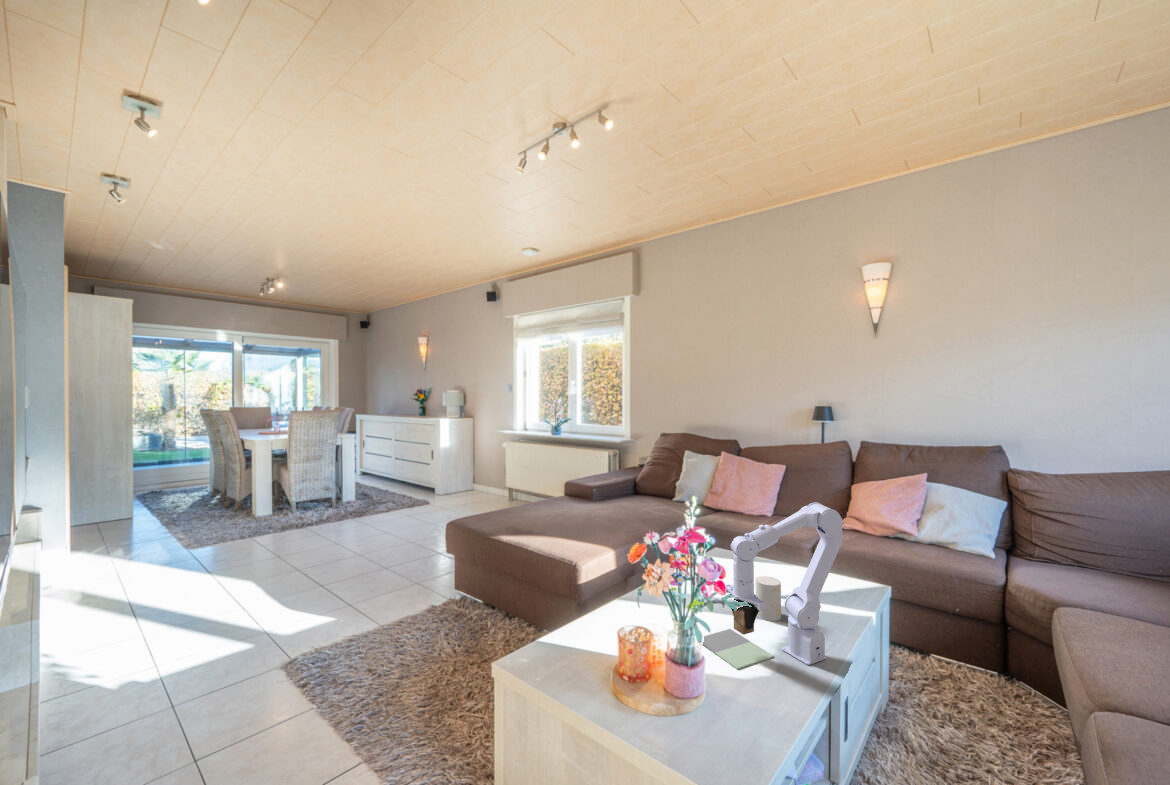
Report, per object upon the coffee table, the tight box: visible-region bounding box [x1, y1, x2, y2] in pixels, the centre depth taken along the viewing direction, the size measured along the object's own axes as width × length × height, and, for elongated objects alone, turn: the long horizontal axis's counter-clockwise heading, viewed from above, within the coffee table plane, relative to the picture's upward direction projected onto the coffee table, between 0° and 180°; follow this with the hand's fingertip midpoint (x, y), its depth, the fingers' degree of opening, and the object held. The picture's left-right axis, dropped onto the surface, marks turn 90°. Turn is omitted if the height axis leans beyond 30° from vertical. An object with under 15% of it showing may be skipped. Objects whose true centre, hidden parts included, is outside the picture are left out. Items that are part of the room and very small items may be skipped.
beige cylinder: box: [755, 575, 782, 622], centre depth 166 cm, size 8×8×12 cm
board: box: [702, 628, 775, 670], centre depth 144 cm, size 18×14×1 cm
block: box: [733, 607, 755, 635], centre depth 141 cm, size 4×4×6 cm
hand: (743, 624), depth 141 cm, fingers closed on block, 4 cm apart
